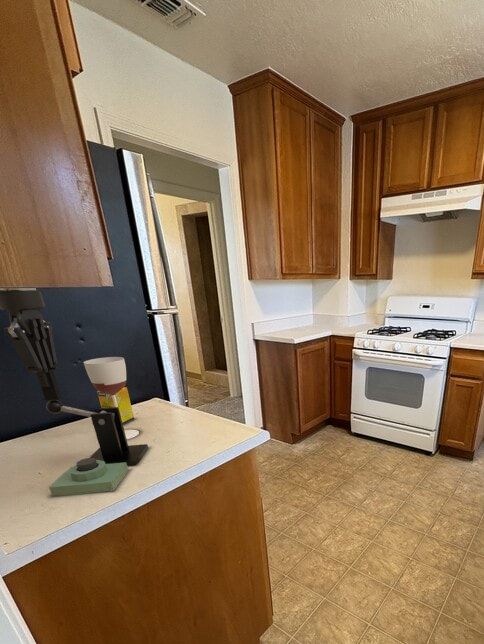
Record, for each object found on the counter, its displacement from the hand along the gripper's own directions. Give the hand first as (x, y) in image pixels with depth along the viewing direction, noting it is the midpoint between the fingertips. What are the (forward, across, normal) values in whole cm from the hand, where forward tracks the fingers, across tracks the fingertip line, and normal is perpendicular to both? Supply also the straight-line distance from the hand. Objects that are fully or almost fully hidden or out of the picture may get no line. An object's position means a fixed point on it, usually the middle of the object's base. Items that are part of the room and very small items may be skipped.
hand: (53, 399), depth 82 cm
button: (+13, -12, -9) cm, 20 cm away
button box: (+16, -12, -9) cm, 22 cm away
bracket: (+16, 0, -10) cm, 19 cm away
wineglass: (+17, +16, -6) cm, 24 cm away
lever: (+5, 0, -4) cm, 7 cm away
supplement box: (+17, +28, -1) cm, 33 cm away
